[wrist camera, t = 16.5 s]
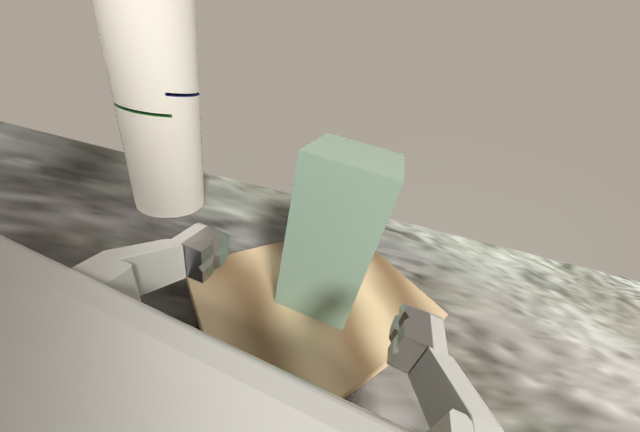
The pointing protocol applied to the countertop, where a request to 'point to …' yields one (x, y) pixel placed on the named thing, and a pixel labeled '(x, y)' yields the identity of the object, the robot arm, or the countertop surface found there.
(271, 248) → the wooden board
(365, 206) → the mint green rectangular block
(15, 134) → the countertop surface
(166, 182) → the cylindrical container
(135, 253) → the robot arm
